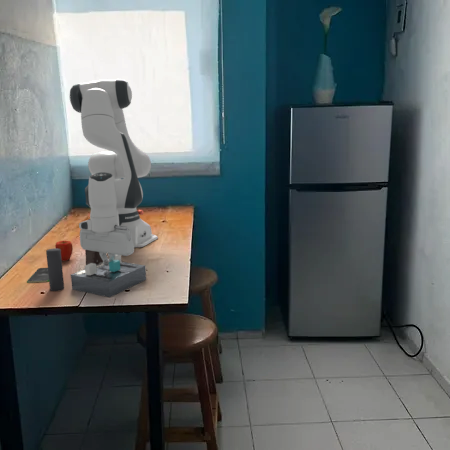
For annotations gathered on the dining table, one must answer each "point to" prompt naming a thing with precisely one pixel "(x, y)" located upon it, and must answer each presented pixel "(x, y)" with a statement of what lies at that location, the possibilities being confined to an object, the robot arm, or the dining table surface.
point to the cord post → (55, 269)
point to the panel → (109, 279)
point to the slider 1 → (90, 269)
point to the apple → (65, 249)
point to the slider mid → (114, 265)
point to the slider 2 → (118, 257)
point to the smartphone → (39, 276)
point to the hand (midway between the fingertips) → (108, 265)
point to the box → (93, 257)
